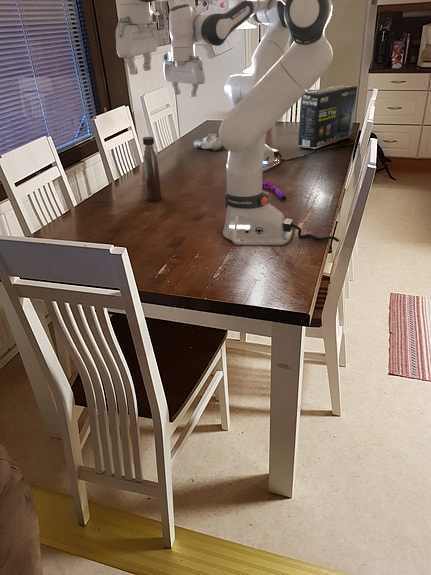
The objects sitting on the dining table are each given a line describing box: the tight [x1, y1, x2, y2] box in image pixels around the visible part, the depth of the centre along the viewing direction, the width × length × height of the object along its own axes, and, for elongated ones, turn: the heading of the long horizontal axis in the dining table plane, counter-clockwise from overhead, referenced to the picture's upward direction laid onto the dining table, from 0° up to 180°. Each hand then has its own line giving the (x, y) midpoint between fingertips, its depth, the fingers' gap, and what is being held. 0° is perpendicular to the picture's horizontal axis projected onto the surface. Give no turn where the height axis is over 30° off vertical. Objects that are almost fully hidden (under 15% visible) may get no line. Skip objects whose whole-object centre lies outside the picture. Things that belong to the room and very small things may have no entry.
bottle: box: [142, 144, 162, 202], centre depth 174 cm, size 5×5×23 cm
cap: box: [142, 136, 155, 146], centre depth 169 cm, size 4×4×2 cm
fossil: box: [193, 132, 224, 152], centre depth 245 cm, size 18×11×15 cm
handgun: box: [262, 180, 287, 202], centre depth 181 cm, size 21×8×2 cm, turn 11°
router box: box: [297, 84, 358, 151], centre depth 238 cm, size 36×11×27 cm, turn 134°
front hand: (140, 72), depth 133 cm, fingers open, 8 cm apart
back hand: (185, 95), depth 178 cm, fingers open, 8 cm apart
